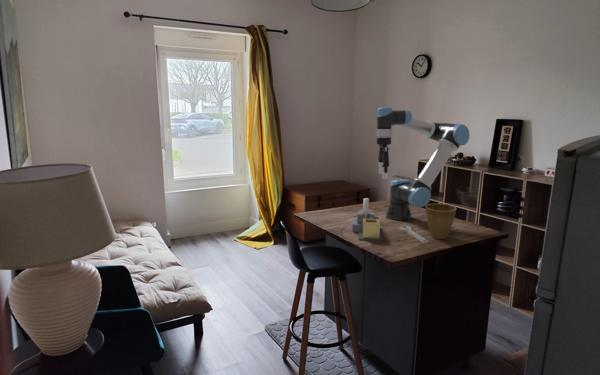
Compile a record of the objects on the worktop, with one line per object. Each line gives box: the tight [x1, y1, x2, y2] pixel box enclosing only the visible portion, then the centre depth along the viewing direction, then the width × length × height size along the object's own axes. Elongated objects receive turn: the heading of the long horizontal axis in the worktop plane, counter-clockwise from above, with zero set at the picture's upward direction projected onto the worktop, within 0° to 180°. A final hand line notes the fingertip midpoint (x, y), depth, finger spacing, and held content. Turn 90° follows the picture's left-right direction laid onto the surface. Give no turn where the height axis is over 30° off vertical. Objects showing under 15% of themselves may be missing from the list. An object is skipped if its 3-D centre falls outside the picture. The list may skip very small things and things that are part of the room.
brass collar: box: [362, 218, 381, 239], centre depth 197 cm, size 8×8×8 cm
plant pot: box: [424, 203, 458, 240], centre depth 198 cm, size 15×15×16 cm
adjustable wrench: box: [399, 225, 429, 244], centre depth 202 cm, size 25×6×2 cm, turn 9°
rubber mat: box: [357, 232, 385, 242], centre depth 198 cm, size 12×11×1 cm
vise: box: [351, 197, 380, 233], centre depth 209 cm, size 14×11×17 cm
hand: (383, 176), depth 209 cm, fingers open, 13 cm apart
